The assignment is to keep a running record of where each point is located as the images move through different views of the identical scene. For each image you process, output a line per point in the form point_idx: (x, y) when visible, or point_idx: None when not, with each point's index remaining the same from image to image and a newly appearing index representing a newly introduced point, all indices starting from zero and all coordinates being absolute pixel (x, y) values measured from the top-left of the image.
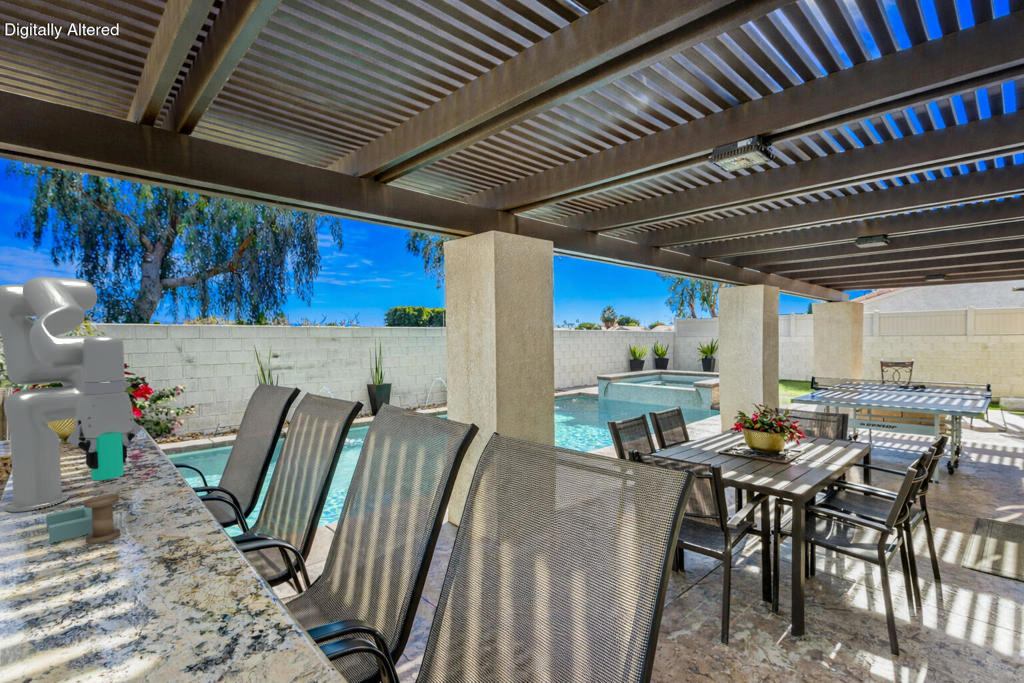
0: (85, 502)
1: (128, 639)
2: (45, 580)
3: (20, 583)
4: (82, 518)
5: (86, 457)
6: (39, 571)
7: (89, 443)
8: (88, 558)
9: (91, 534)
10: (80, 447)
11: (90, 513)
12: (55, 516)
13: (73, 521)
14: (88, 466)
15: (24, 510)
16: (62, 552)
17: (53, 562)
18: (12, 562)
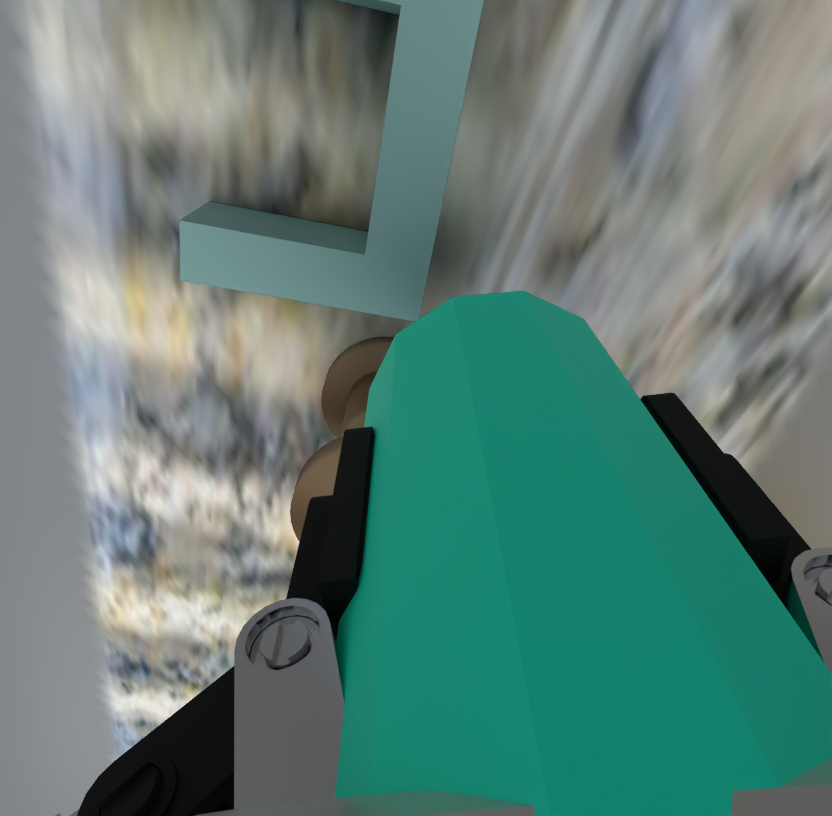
0: (294, 519)
1: None
2: (178, 598)
3: (121, 567)
4: (337, 260)
5: (299, 566)
6: (165, 526)
7: (315, 751)
8: (295, 544)
9: (350, 369)
10: (179, 737)
11: (394, 191)
12: None
13: (291, 273)
14: (346, 432)
15: None
16: (239, 416)
17: (205, 488)
18: (81, 362)
